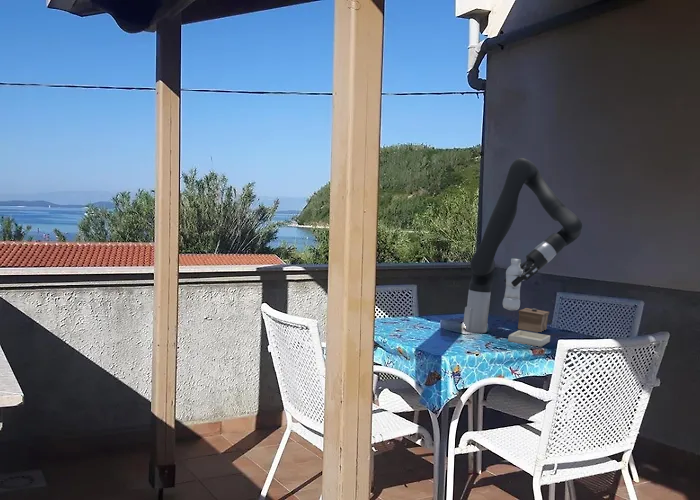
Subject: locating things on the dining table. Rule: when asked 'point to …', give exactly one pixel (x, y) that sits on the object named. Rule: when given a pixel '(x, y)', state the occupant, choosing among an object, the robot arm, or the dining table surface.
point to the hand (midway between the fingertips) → (509, 283)
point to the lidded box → (533, 320)
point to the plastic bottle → (511, 292)
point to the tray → (529, 338)
